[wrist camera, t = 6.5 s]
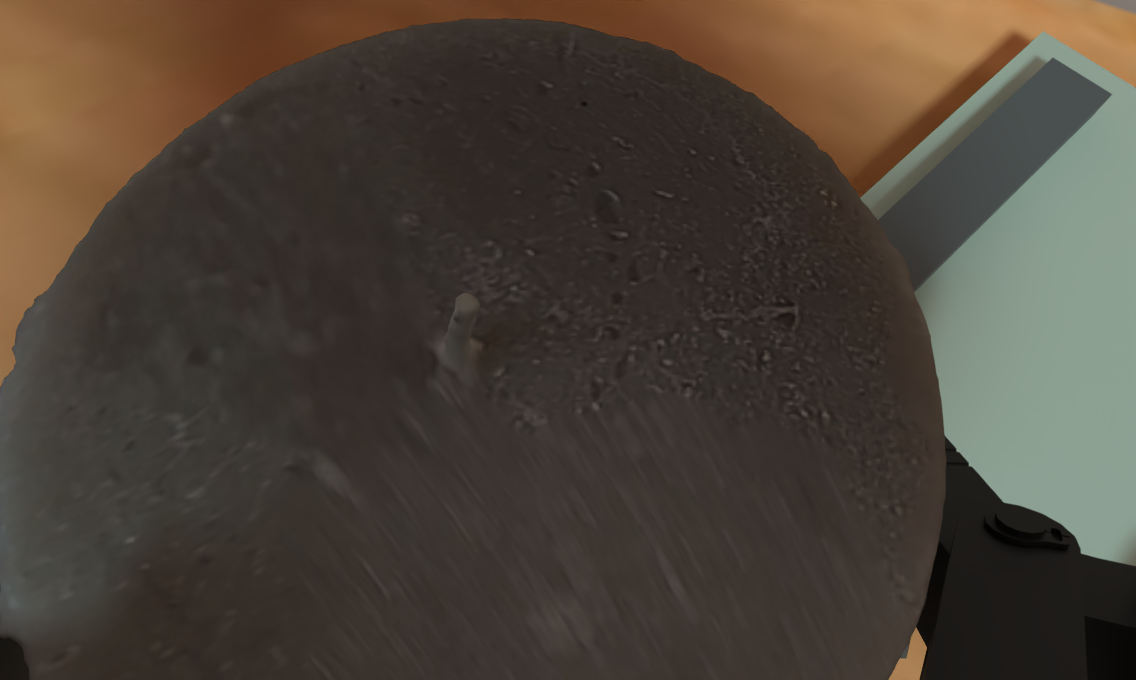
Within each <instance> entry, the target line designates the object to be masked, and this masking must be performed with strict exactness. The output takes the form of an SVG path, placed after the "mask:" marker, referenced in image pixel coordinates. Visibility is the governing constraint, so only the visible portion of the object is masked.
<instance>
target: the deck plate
mask: <svg viewBox="0 0 1136 680" xmlns="http://www.w3.org/2000/svg"><path fill="white" fill-rule="evenodd" d="M860 199H861V200H862V202H863V203H864V204H865V205H866V206H867V207H868V208H869V209H870V211H871V212H872V213H873V215H874V216H875V217H877V220H878V221H879V223H880V225H881V226H882V228H883V230H884V232H885V234H886V236H887V237H888V239H889V241H890V243H891V245H892V246H893V247H895V248H897V249H898V251H899V252H900V254H901V255H902V256H903V257H904V259H905V261H906V264H907V267H908V270H909V273H910V278H911V283H912V286H913V289H914V294H915V297H916V299H917V302H918V304H919V305H920V307H921V310H922V312H923V314H924V317H925V320H926V322H927V326H928V330H929V333H930V335H931V345H932V350H933V356H934V361H935V367H936V374H937V377H938V379H939V389H940V395H941V400H942V411H943V422H944V435H945V436H946V437H947V439H948V440H949V441H950V442H951V443H952V444H953V445H954V447H955V448H956V449H957V450H956V451H957V452H960V453H961V454H962V456H963V457H964V458H965V459H966V460H967V461H968V462H969V466H972V467H973V468H974V469H975V470H976V471H977V473H978V474H979V475H980V476H981V477H982V478H983V479H984V481H985V482H986V483H987V484H988V485H989V486H990V487H991V489H992V490H993V491H994V492H995V493H996V494H997V495H998V496H999V498H1000V499H1001V500H1002V501H1003V502H1004V503H1008V504H1014V505H1019V506H1022V507H1025V508H1028V509H1031V510H1034V511H1037V512H1039V513H1042V514H1044V515H1046V516H1048V517H1049V518H1051V519H1053V520H1055V521H1057V522H1058V523H1060V524H1062V525H1063V526H1064V527H1065V528H1066V529H1067V530H1068V531H1070V532H1071V533H1072V534H1073V535H1074V536H1075V537H1076V539H1077V542H1078V544H1079V546H1080V548H1081V554H1085V555H1088V556H1092V557H1096V558H1100V559H1105V560H1109V561H1114V562H1119V563H1123V564H1128V565H1132V566H1136V88H1135V87H1134V86H1132V85H1130V84H1129V83H1127V82H1125V81H1124V80H1122V79H1120V78H1119V77H1117V76H1116V75H1114V74H1112V73H1111V72H1109V71H1107V70H1106V69H1104V68H1102V67H1101V66H1099V65H1098V64H1096V63H1094V62H1093V61H1091V60H1089V59H1088V58H1086V57H1084V56H1083V55H1081V54H1080V53H1078V52H1076V51H1075V50H1073V49H1071V48H1070V47H1068V46H1066V45H1065V44H1063V43H1062V42H1060V41H1058V40H1057V39H1055V38H1053V37H1052V36H1050V35H1048V34H1047V33H1045V32H1044V31H1043V32H1042V33H1041V34H1040V35H1039V36H1038V37H1037V38H1035V39H1034V40H1033V41H1032V42H1031V43H1030V44H1029V45H1028V46H1027V47H1026V48H1024V49H1023V50H1022V51H1021V52H1020V53H1019V54H1018V55H1017V56H1016V57H1015V58H1013V59H1012V60H1011V61H1010V62H1009V63H1008V64H1007V65H1006V66H1005V67H1004V68H1002V69H1001V70H1000V71H999V72H998V73H997V74H996V75H995V76H994V77H993V78H991V79H990V80H989V81H988V82H987V83H986V84H985V85H984V86H983V87H982V88H980V89H979V90H978V91H977V92H976V93H975V94H974V95H973V96H972V97H971V98H969V99H968V100H967V101H966V102H965V103H964V104H963V105H962V106H961V107H960V108H958V109H957V110H956V111H955V112H954V113H953V114H952V115H951V116H950V117H949V118H947V119H946V120H945V121H944V122H943V123H942V124H941V125H940V126H939V127H938V128H936V129H935V130H934V131H933V132H932V133H931V134H930V135H929V136H928V137H927V138H925V139H924V140H923V141H922V142H921V143H920V144H919V145H918V146H917V147H916V148H914V149H913V150H912V151H911V152H910V153H909V154H908V155H907V156H906V157H905V158H903V159H902V160H901V161H900V162H899V163H898V164H897V165H896V166H895V167H894V168H892V169H891V170H890V171H889V172H888V173H887V174H886V175H885V176H884V177H882V178H881V179H880V180H879V181H878V182H877V183H876V184H875V185H874V186H873V187H871V188H870V189H869V190H868V191H867V192H866V193H865V194H864V195H863V196H862V197H860Z"/></svg>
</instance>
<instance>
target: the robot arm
mask: <svg viewBox="0 0 1136 680" xmlns="http://www.w3.org/2000/svg"><path fill="white" fill-rule="evenodd" d="M956 450H957V449H956V448H955V447H954V445H953V444H952V443H951V442H950V441H949V440H948V439H947V437H946V436H945V454H946V495H945V502H944V505H943V519H942V525H941V530H940V536H939V543H938V546H937V552H936V556H935V559H934V563H933V568H932V573H931V577H930V581H929V586H928V591H927V597H926V601H925V604H924V607H923V609H922V612H921V615H920V618H919V621H918V623H917V626H916V628H917V629H918V631H919V633H920V635H921V637H922V639H923V641H924V642H925V644H926V646H927V651H926V655H925V659H924V663H923V667H922V671H921V676H920V680H1136V566H1132V565H1128V564H1123V563H1119V562H1114V561H1109V560H1105V559H1100V558H1096V557H1092V556H1088V555H1085V554H1081V548H1080V546H1079V544H1078V542H1077V539H1076V537H1075V536H1074V535H1073V534H1072V533H1071V532H1070V531H1068V530H1067V529H1066V528H1065V527H1064V526H1063V525H1062V524H1060V523H1058V522H1057V521H1055V520H1053V519H1051V518H1049V517H1048V516H1046V515H1044V514H1042V513H1039V512H1037V511H1034V510H1031V509H1028V508H1025V507H1022V506H1019V505H1014V504H1008V503H1004V502H1003V501H1002V500H1001V499H1000V498H999V496H998V495H997V494H996V493H995V492H994V491H993V490H992V489H991V487H990V486H989V485H988V484H987V483H986V482H985V481H984V479H983V478H982V477H981V476H980V475H979V474H978V473H977V471H976V470H975V469H974V468H973V467H972V466H969V462H968V461H967V460H966V459H965V458H964V457H963V456H962V454H961V453H960V452H957V451H956ZM910 639H911V638H910ZM909 643H910V641H909ZM909 643H908V645H907V647H906V648H905V650H904V651H903V653H902V655H901V657H900V658H906V657H907V652H908V648H909ZM0 680H29V669H28V667H27V665H26V663H25V661H24V652H23V649H22V647H21V645H19V644H18V643H17V642H16V641H14V640H13V639H11V638H10V637H9V638H6V639H4V638H1V637H0Z"/></svg>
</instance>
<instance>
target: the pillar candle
mask: <svg viewBox="0 0 1136 680" xmlns="http://www.w3.org/2000/svg"><path fill="white" fill-rule="evenodd" d="M12 350H13V352H14V355H15V359H16V364H15V365H14V369H13V370H12V371H11V372H10V374H9V375H8V376H7V377H5V378H4V380H3V383H2V386H1V388H0V637H1V638H4V639H6V638H9V637H10V638H11V639H13V640H14V641H16V642H17V643H18V644H19V645H21V647H22V649H23V652H24V661H25V663H26V665H27V667H28V669H29V680H888V679H889V677H890V675H891V674H892V672H893V670H894V668H895V666H896V664H897V662H898V660H899V659H900V657H901V655H902V653H903V651H904V650H905V648H906V647H907V645H908V643H909V641H910V638H911V636H912V634H913V632H914V630H915V628H916V626H917V623H918V621H919V618H920V615H921V612H922V609H923V607H924V604H925V601H926V597H927V591H928V586H929V581H930V577H931V573H932V568H933V563H934V559H935V556H936V552H937V546H938V543H939V536H940V530H941V525H942V519H943V505H944V502H945V495H946V454H945V435H944V422H943V411H942V400H941V395H940V389H939V379H938V377H937V374H936V367H935V361H934V356H933V350H932V345H931V335H930V333H929V330H928V326H927V322H926V320H925V317H924V314H923V312H922V310H921V307H920V305H919V304H918V302H917V299H916V297H915V294H914V289H913V286H912V283H911V278H910V273H909V270H908V267H907V264H906V261H905V259H904V257H903V256H902V255H901V254H900V252H899V251H898V249H897V248H895V247H893V246H892V245H891V243H890V241H889V239H888V237H887V236H886V234H885V232H884V230H883V228H882V226H881V225H880V223H879V221H878V220H877V217H875V216H874V215H873V213H872V212H871V211H870V209H869V208H868V207H867V206H866V205H865V204H864V203H863V202H862V200H861V199H860V197H859V195H858V193H857V192H856V190H855V189H854V188H852V186H851V185H850V183H849V182H848V180H847V178H846V177H845V176H844V175H843V174H842V173H841V172H840V170H839V169H838V168H837V166H836V165H835V163H834V161H833V159H832V158H831V157H830V156H829V155H828V154H827V153H826V152H823V151H821V150H819V148H818V147H817V145H816V143H815V142H814V141H813V140H812V139H811V138H810V137H809V136H808V135H806V134H805V133H803V132H802V131H801V130H799V129H797V128H795V127H794V126H793V125H792V124H791V123H790V122H788V121H787V120H786V119H785V118H783V117H782V116H781V115H780V114H779V113H778V112H776V111H775V110H774V109H773V108H772V107H771V106H769V105H767V104H765V103H764V102H763V101H762V100H760V99H759V98H758V97H756V96H755V94H753V93H750V92H746V91H744V90H742V89H741V88H739V87H737V86H736V85H735V84H733V83H731V82H730V81H728V80H726V79H724V78H722V77H720V76H717V75H715V74H713V73H710V72H708V71H706V70H704V69H703V68H701V67H700V66H698V65H697V64H695V63H692V62H689V61H686V60H684V59H682V58H681V57H680V56H678V55H677V54H676V53H675V52H673V51H671V50H667V49H663V48H661V47H659V46H656V45H653V44H650V43H647V42H640V41H636V40H633V39H629V38H624V37H614V36H611V35H608V34H605V33H602V32H600V31H596V30H593V29H588V28H583V27H580V26H577V25H571V24H567V23H564V22H552V21H542V20H521V19H463V20H458V21H452V22H444V23H433V24H425V25H412V26H409V27H407V28H405V29H401V30H396V31H391V32H384V33H381V34H378V35H375V36H372V37H368V38H365V39H363V40H359V41H354V42H352V43H349V44H344V45H340V46H338V47H336V48H333V49H330V50H327V51H325V52H322V53H319V54H317V55H315V56H313V57H310V58H307V59H305V60H304V61H300V62H298V63H295V64H292V65H290V66H287V67H283V68H282V69H280V70H278V71H276V72H273V73H271V74H270V75H268V76H266V77H263V78H261V79H259V80H257V81H255V82H254V83H253V84H251V85H250V86H248V87H246V88H245V89H244V90H243V91H242V92H240V93H237V94H235V95H234V96H233V97H232V98H231V99H229V100H228V101H226V102H225V103H223V104H222V105H220V106H219V107H218V108H216V109H215V110H213V111H212V112H210V113H209V114H208V115H207V116H206V117H204V118H203V119H201V120H199V121H198V122H196V123H195V124H193V125H192V126H190V127H188V128H186V129H184V131H183V132H182V134H181V135H179V136H178V137H177V138H176V139H175V140H173V141H172V142H171V143H169V144H168V145H167V146H166V147H165V148H164V149H163V151H162V152H161V153H160V154H159V155H158V156H156V157H155V158H154V159H152V160H151V161H150V162H149V163H148V164H147V165H146V166H145V167H144V168H143V169H142V170H141V171H139V172H137V173H135V174H134V175H133V176H132V177H131V178H130V180H129V181H128V183H127V184H126V185H125V186H124V187H123V188H122V189H121V190H120V191H119V192H118V193H117V195H116V196H115V197H114V198H113V199H112V200H110V201H109V202H108V203H106V205H105V207H104V208H103V210H102V211H101V212H100V214H99V215H98V216H97V218H96V219H95V221H94V223H93V224H92V226H91V228H90V230H89V232H88V233H87V235H86V236H85V237H84V238H83V239H82V240H81V241H80V242H79V244H78V245H77V246H76V247H75V249H74V251H73V253H72V254H71V256H70V258H69V260H68V262H67V263H66V265H65V267H64V268H63V269H62V270H61V271H60V272H59V274H58V275H57V276H56V279H55V280H54V282H53V283H52V285H51V286H50V287H49V289H48V290H47V291H46V292H44V293H43V294H41V295H40V296H38V297H37V298H36V299H34V304H33V305H32V307H30V308H28V309H27V310H26V311H25V313H24V317H23V319H22V320H21V322H20V324H19V325H18V328H17V330H16V338H15V345H14V346H13V347H12Z"/></svg>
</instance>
